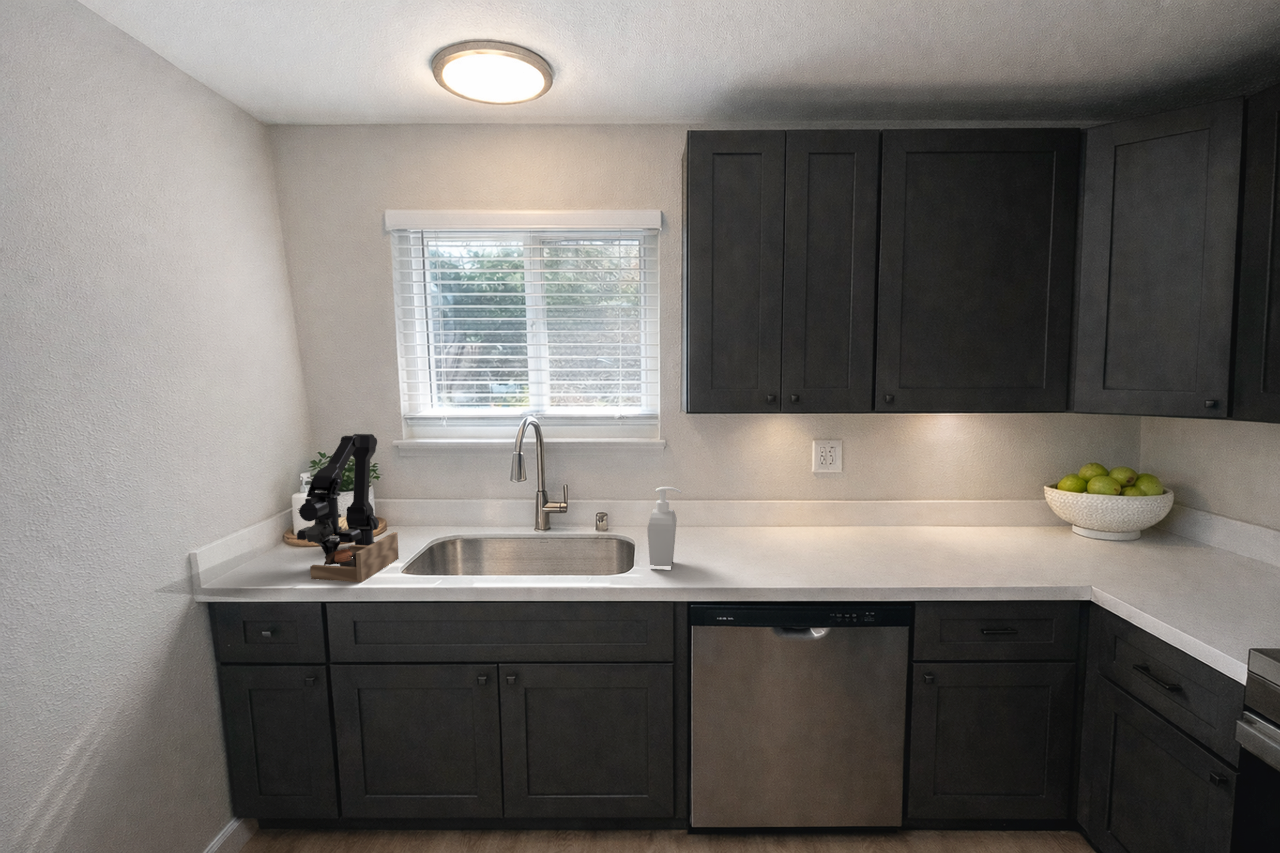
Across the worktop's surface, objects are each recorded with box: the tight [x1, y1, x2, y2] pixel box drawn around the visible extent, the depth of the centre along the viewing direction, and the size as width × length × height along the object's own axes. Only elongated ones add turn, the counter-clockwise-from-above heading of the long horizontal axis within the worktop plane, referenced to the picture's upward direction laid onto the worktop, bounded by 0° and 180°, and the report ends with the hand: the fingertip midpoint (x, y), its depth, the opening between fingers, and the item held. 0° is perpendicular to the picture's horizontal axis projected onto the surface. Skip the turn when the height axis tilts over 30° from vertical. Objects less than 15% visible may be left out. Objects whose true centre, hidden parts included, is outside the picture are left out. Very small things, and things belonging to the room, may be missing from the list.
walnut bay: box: [309, 531, 400, 583], centre depth 195 cm, size 21×16×9 cm
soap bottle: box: [646, 486, 682, 567], centre depth 198 cm, size 12×10×26 cm
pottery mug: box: [323, 548, 356, 567], centre depth 193 cm, size 12×10×8 cm
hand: (330, 560), depth 196 cm, fingers closed
